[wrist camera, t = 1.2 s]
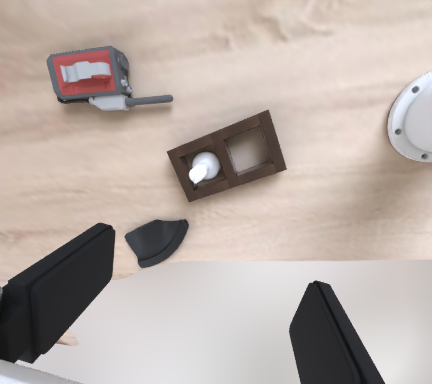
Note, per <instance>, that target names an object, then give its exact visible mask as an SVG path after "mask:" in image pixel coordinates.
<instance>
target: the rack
mask: <svg viewBox="0 0 432 384" xmlns="http://www.w3.org/2000/svg"><path fill="white" fill-rule="evenodd" d="M257 126H260V127H261V130H262V133H263V136H264V139H265V142H266V145H267V149H268V152H269V155H270V158H271V161H269V162H266V163H263V164H260V165H257V166H254V167H252V168H249V169H246V170H243V171H240V172H238V173H237V171H236V168H235V165H234V163H233V160H232V157H231V154H230V152H229V149H228V146H227V143H226V141H225V139H227V138H230V137H232V136H235V135H237V134H240V133H242V132H245V131H247V130H250V129H252V128H255V127H257ZM212 144H214V147H215V149H216V152H217V154H218V157H219V160H220V162H221V165H222V168H223V170H224V173H225V175H226V177H223V178H220V179H218V180H215V181H212V182H209V183H206V184H203V185H201V186H197V184H196V183H195V184H194V182H193V181H191V179H190V177H189V172H190V167H189V165H188V163H187V160H186V158H185V155H187V154H189V153H192V152H194V151H197V150H199V149H202V148H204V147H207V146H209V145H212ZM167 153H168V156H169V158H170V160H171V163H172V165H173V167H174V169H175V172H176V174H177V176H178V179H179V181H180V183H181V185H182V188H183V190H184V192H185V194H186V197H187V199H188V201H189V202H192V201H195V200H197V199H201V198H204V197H207V196H210V195H213V194H216V193H219V192H221V191H224V190H227V189H230V188H233V187H236V186H239V185H242V184H245V183H248V182H251V181H254V180H257V179H260V178H263V177H266V176H269V175H272V174H275V173H276V172H277V173H278V172H281V171H284V170H286V169H287V168H286V165H285V161H284V158H283V155H282V152H281V148H280V145H279V142H278V139H277V135H276V132H275V129H274V125H273V122H272V119H271V116H270V112H269V110H266V111H264V112H261V113H259V114H257V115H254V116H252V117H249V118H247V119H244V120H242V121H240V122H237V123H235V124H232V125H230V126H228V127H225V128H223V129H220V130H218V131H215V132H213V133H211V134H208V135H206V136H203V137H201V138H199V139H196V140H194V141H191V142H189V143H186V144H184V145H182V146H179V147H177V148H174V149H172V150H169V151H167Z"/></svg>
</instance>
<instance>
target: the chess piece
mask: <svg viewBox="0 0 432 384" xmlns="http://www.w3.org/2000/svg"><path fill="white" fill-rule="evenodd" d="M192 167H193V169H191V170H190V172H189V177H190V179H191V181H193V182H194V184H195V183H198V182H199V181H201V180H202V179H205V180H208V179H212V178H214V177H215V176H216V175H217V174H218V173H219V171H220V161H219V159H218V157H217V156H216V155H215V154H214V153H212V152H209V151H203V152H200V153H199V154H197V155H196V156H195V158H194V160H193V163H192Z"/></svg>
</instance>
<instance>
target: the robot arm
mask: <svg viewBox="0 0 432 384" xmlns="http://www.w3.org/2000/svg"><path fill="white" fill-rule="evenodd" d="M387 129H388V136H389V139H390V142H391V144H392V145H393V147H394V148H395V149H396V150H397V151H398V152H399V153H400V154H401V155H403V156H405V157H406V158H409V159H412V160H415V161H421V162H432V71H430V72H427V73H426V74H424V75H422V76H420V77H419V78H417V79H416V80H414V81H413V82H412V83H411V84H409V85H408V86H407V87H406V88H405V89H404V90H403V91H402V92H401V94H400V95H399V96H398V98H397V99H396V101H395V102H394V104H393V107H392V109H391V111H390V114H389V118H388V126H387ZM395 131H396V132H395ZM114 245H115V230H114V229H113V227H112V226H111V225H107V224H104V223H97V224H96V225H94V226H93V227H91V228H90V229H88V230H86V231H85V232H83V233H82V234H80V235H79V236H77V237H76V238H74V239H72V240H71V241H69V242H68V243H66V244H65V245H63V246H62V247H60V248H58V249H57V250H55V251H54V252H52V253H51V254H49V255H47V256H46V257H44V258H43V259H41V260H40V261H38V262H37V263H35V264H33V265H32V266H30V267H29V268H27V269H26V270H24V271H23V272H21V273H19V274H18V275H16V276H15V277H13V278H12V279H10V280H8V284H7V285H5V286H4V287H2V288H1V287H0V384H81V383H78V382H75V381H72V380H69V379H66V378H62V377H59V376H56V375H53V374H49V373H46V372H42V371H39V370H35V369H32V368H28V367H25V366H21V365H18V364H14V363H15V362H16V361H17V360H21V361H25V362H28V363H31V364H32V363H34V361H35V360H36V359H37V358H38V357H39V356H40V355H41V354H45V353H47V352H48V351H49V350H50V349H51V348H52V347H53V345H54V344H55V343H56V342H57V341H58V340H59V339H60V337H61V336H62V335H63V334H64V333H65V332H66V331H67V329H68V328H69V327H70V326H71V325H72V324H73V323H74V322H75V320H76V319H77V318H78V317H79V316H80V315H81V314H82V312H83V311H84V310H85V309H86V308H87V307H88V306H89V304H90V303H91V302H92V301H93V300H94V299H95V298H96V296H97V295H98V294H99V293H100V292H101V291H102V290H103V288H104V287H105V286H106V285H107V284H108V283H109V282H110V280H111V278H112V273H113V259H114ZM289 329H290V330H289V333H290V338H291V343H292V347H293V351H294V356H295V360H296V365H297V369H298V373H299V378H300V382H301V384H385V382H384V381H383V379H382V377H381V375H380V373H379V372H378V370H377V368H376V366H375V364H374V363H373V361H372V359H371V357H370V356H369V354H368V352H367V350H366V349H365V347H364V345H363V343H362V341H361V339H360V338H359V336H358V334H357V332H356V331H355V329H354V327H353V325H352V323H351V322H350V320H349V318H348V316H347V314H346V313H345V311H344V309H343V307H342V306H341V304H340V302H339V300H338V298H337V297H336V295H335V293H334V291H333V290H332V288H331V286H330V285H329V284H327V283H323V282H320V281H314V282H313V283H309V285H308V287H307V289H306V291H305V293H304V295H303V298H302V300H301V302H300V304H299V307H298V309H297V311H296V313H295V315H294V318H293V320H292V322H291V324H290V328H289Z"/></svg>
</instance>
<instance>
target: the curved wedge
mask: <svg viewBox="0 0 432 384" xmlns="http://www.w3.org/2000/svg"><path fill="white" fill-rule="evenodd" d="M188 226H189V225H188V222H187V220H186V219H184V220H179V221H162V220H154V221H152V222H149V223H147V224H145V225H143V226H141V227H139V228H137V229H135V230H133V231H131V232H129V233H127V234H126V235H125V239H126V241H127V243H128V244H129V246H130V247H131V249H132V250H133V251H134V253H135V254H136V256H137V258H138V264H139V266H140V267H141V268H146V267H150V266H153V265H156V264H158V263H160V262H162V261H164V260H165V259H167V258H168V257H169V256H171V255H172V254H173V253H174V252H175V250H176V249H177V248H178V247H179V245H180V244H181V242H182V241H183V239H184V237H185V235H186V232H187V229H188Z"/></svg>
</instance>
